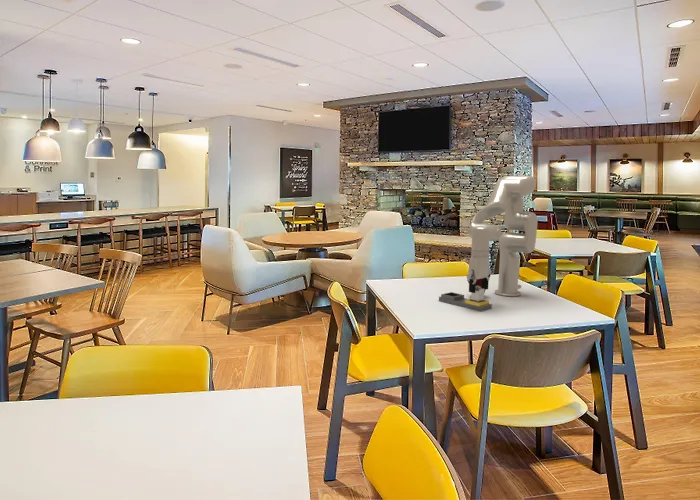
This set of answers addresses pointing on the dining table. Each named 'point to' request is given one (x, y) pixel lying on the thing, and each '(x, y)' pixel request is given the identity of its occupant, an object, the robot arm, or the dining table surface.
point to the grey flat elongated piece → (464, 302)
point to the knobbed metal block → (478, 295)
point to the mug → (479, 283)
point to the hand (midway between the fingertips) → (478, 290)
